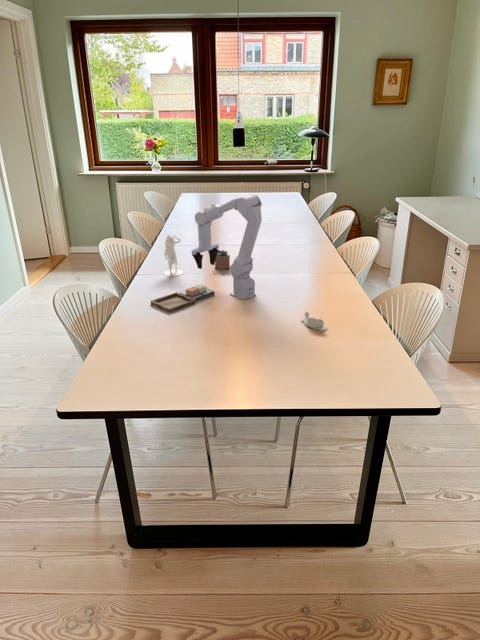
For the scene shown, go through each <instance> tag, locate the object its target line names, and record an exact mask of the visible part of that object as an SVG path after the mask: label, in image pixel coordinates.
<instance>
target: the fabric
mask: <svg viewBox="0 0 480 640" xmlns="http://www.w3.org/2000/svg"><path fill="white" fill-rule="evenodd" d="M304 316H305V317H304V318H303V319H302V320H300V322H301V323H303V324H304V326H306V327H308V328H311V329H313V330H319V331H320V332H321V333H322V332H324V331H327V330H328V329H329V326H324V325H325V324H326V322H324V321H323V319H321V318H316V317H313V316H310V313H309V312H307V311H305V313H304Z"/></svg>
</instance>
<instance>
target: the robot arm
mask: <svg viewBox="0 0 480 640" xmlns="http://www.w3.org/2000/svg"><path fill="white" fill-rule="evenodd" d="M262 205H263V203H262V200H261V199H260V197H259V196H258V195H257V194H254V193H252V194H250V195H245V196H239V197H237V198H234V199H231V200H229V201H228V202H225V203H223V204H222V205H221V204H218V203H213V204H211V205H210V207H208V208H207V207H205V208H203V210H200V211H197V212H196V213H195V214H194V221H195V223H196V224H197V233H198V247H196V248H193V249H191V255H192V258H194V261H195V263H196V266H197V268H198V269H200V270H201V269H202V268H203V258H204V255H203V254H201V253H205V252H208V255H209V263H210V265H211V266H215V259H216V256H217V254H218V252H219V250H220V249H219V244H218V243H212V232H211V231H212V229H211V228H212V223H213V221H215V220H217V219H220V218H222V217H223V216H224V214H225V213H226V212H229V211H231V210H235V211H238V213H239V214H240V215H241V216H242V217H243V218H244V220H245V221H246V222H247V223H246V226H245V230H244V233H243V237H242V240H241V244H240V248H239V251H238V255H237V256H236V257H235V258H234V260H233V262H232V264H231V265H230V270H229V272H230V275H231V277H232V278H233V279H232V280H233V281H232V283H233V285H232V286H233V291H232V292H229V293H228V294H229V295H230V296H233V297H235V298H238V299H241V300H246V299H249V298H252V297H254V296H256V295H257V293H255V292H256V291H255V289H256V288H255V287H256V281H255V280H254V279H253V278H252V277H251V272H252V271H253V267H254V264H253V261H254V259H253V257H252V254H253V251H254V248H255V244H256V241H257V238H258V234H259V230H260V228H261V225H262V220H263V219H262V209H261V207H262Z"/></svg>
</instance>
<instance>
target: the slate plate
mask: <svg viewBox="0 0 480 640" xmlns="http://www.w3.org/2000/svg"><path fill="white" fill-rule="evenodd" d="M178 293H180V294H182V295H185V296H187V297H190V298H192V299H194V300H196V303H197V302H200V301H202V300H206V299H209V298H211V297H213V296H215V295H216V293H215V290H213V289H210V288H208V287H207V291H204V292H201V293H198V294H195V295H192V296H191V295H189V294H187V293H186V289H185V290H183V291H179V292H178Z"/></svg>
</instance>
